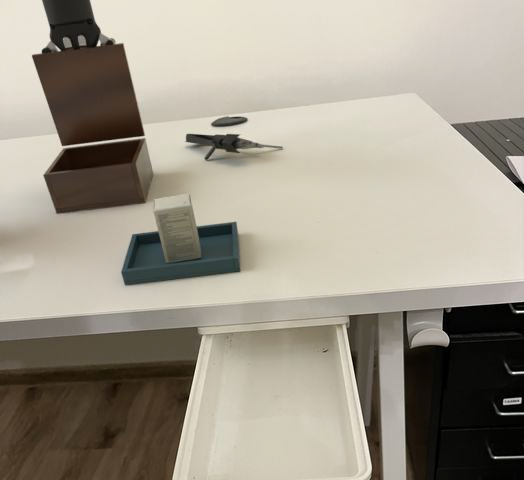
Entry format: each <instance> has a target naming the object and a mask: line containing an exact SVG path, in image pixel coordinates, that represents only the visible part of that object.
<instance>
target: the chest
mask: <svg viewBox="0 0 524 480" xmlns="http://www.w3.org/2000/svg"><path fill="white" fill-rule="evenodd" d="M153 176H154V170H153V165H152V161H151V157H150V152H149V148H148V144H147V139H146V138H145V137H141V138H134V139H126V140H125V139H124V140H116V141H109V142H103V143H102V142H101V143H94V144H85V145H78V146H71V147H69V146H68V147H64V148H62V149H61V151H60V152H59V153H58V155H57V156H56V157H55V158H54V160H53V161H52V162H51V164H50V165H49V167H48V168H47V169H46V171H44V173H43V179H44V181H45V184H46V187H47V190H48V193H49V195H50V198H51V201H52V205H53V208H54V209H55V213H56V214H61V213H71V211H72V212H78V211H79V212H80V211H87V210H96V209H104V208H105V209H106V208H112V207H120V206H128V205H136V204H137V205H138V204H144V203H146V200H147V197H148V193H149V190H150V188H151V187H150V186H151V184H152V180H153V178H154V177H153Z"/></svg>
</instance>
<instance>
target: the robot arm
mask: <svg viewBox="0 0 524 480" xmlns="http://www.w3.org/2000/svg"><path fill="white" fill-rule="evenodd" d="M41 2H42V5H43V9H44V12H45V15H46V19H47V21H48V22H47V23H48V26H49V41H48V43H47V45H46V46H45V47H43V48H42V49H41V53H48V52H56V51H64V50H72V49H80V48H87V47H95V46H98V44H99V41H100V45H99V46H103V45H111V44H117V43H116V40H115V38H113V37H111V38H110V37H109V36H106V35H105V34H103V33H102V29H101V28H100V26H99V25H98V24H97V21H96V19H95V15H94V10H93V6H92V2H91V0H41Z"/></svg>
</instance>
